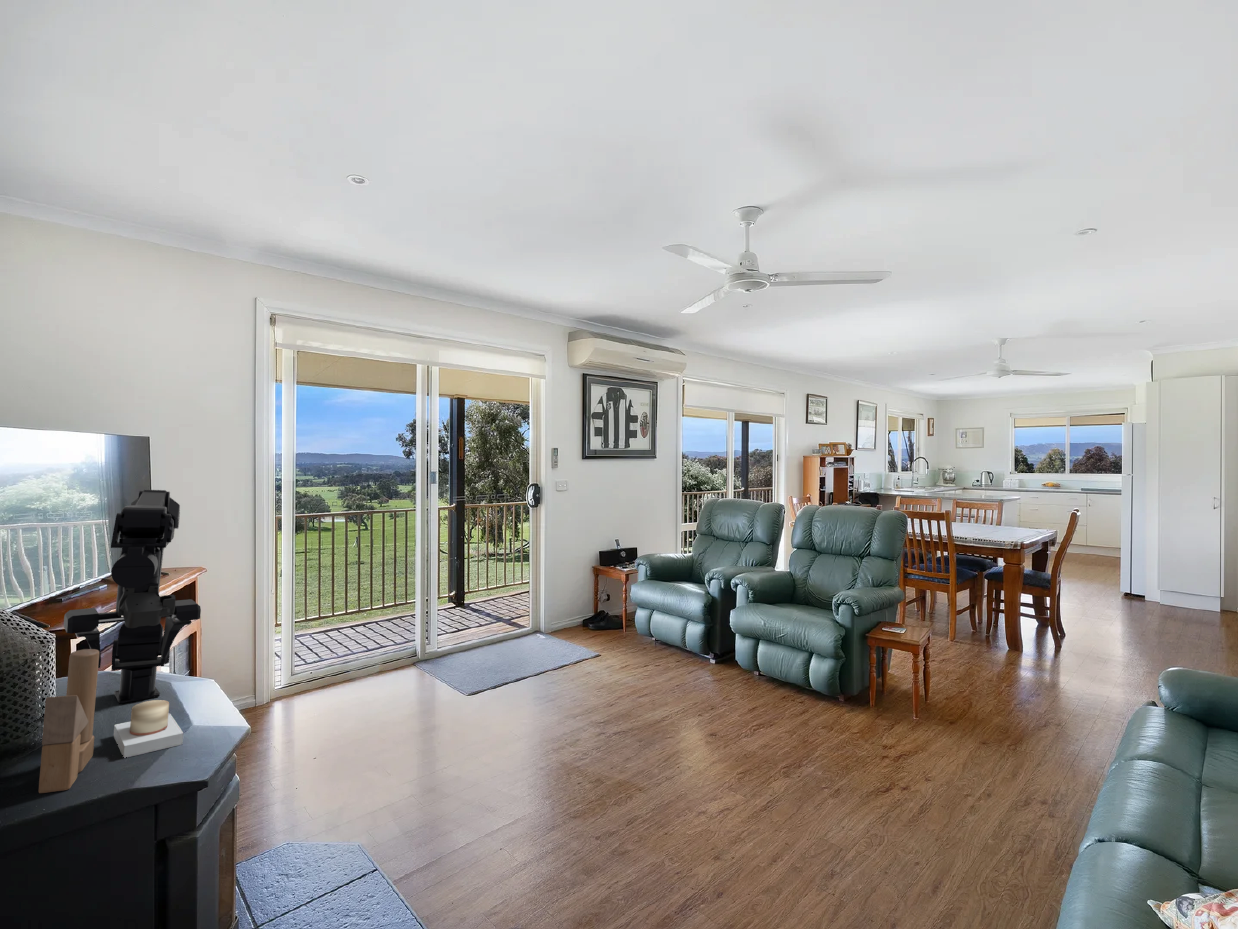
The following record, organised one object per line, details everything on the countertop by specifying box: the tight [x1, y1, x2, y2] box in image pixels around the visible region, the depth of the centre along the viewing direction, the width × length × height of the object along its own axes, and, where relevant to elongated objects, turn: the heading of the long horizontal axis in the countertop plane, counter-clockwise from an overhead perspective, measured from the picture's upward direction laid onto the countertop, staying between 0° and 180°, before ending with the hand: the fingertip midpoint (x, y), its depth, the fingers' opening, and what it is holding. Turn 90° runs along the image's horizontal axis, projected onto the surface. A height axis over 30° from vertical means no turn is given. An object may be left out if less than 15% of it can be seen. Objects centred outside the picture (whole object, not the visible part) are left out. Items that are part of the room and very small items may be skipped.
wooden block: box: [38, 648, 99, 794], centre depth 93 cm, size 4×11×18 cm, turn 27°
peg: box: [130, 699, 170, 736], centre depth 105 cm, size 5×5×6 cm
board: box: [113, 713, 184, 759], centre depth 105 cm, size 10×8×2 cm
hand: (131, 662), depth 109 cm, fingers open, 9 cm apart
